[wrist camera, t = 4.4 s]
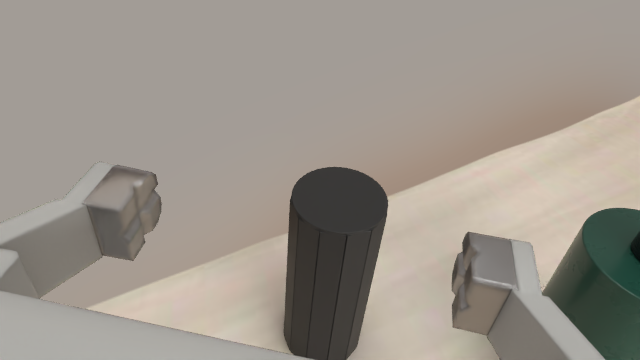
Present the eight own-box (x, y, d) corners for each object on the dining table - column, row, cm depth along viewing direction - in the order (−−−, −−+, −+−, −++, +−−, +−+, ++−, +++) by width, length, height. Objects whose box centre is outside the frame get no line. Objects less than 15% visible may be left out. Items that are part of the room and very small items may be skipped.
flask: (560, 323, 40) (679, 151, 28) (637, 414, 34) (821, 247, 23) (482, 351, 37) (577, 175, 26) (551, 454, 32) (709, 289, 21)
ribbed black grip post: (340, 293, 40) (363, 160, 31) (370, 352, 36) (405, 220, 27) (275, 311, 39) (279, 176, 29) (299, 376, 35) (311, 242, 26)
